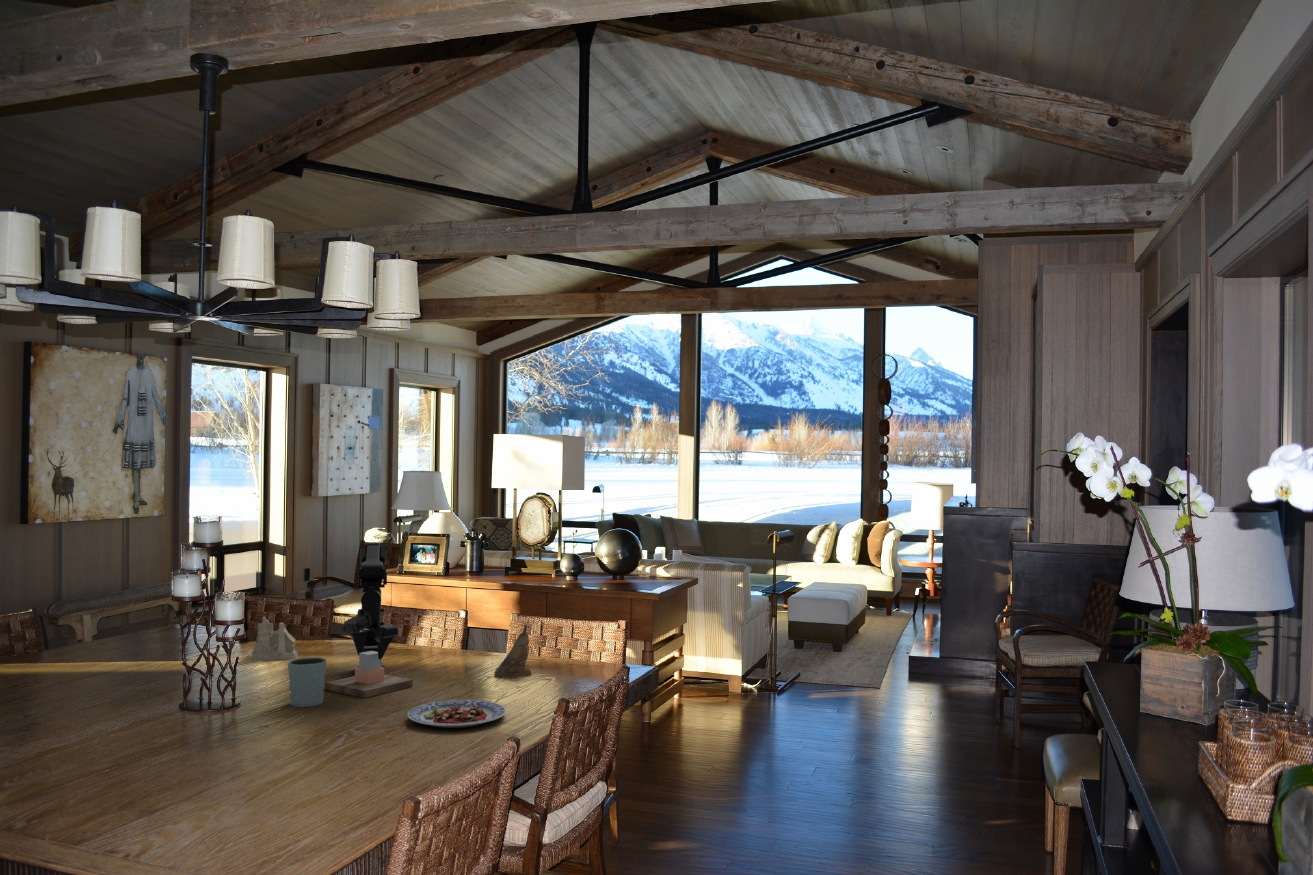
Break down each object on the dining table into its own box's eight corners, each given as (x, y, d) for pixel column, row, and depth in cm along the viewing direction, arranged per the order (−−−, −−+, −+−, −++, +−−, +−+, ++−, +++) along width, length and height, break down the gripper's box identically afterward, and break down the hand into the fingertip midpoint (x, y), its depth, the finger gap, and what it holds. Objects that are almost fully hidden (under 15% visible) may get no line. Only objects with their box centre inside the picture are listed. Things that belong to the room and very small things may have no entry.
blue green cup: (332, 701, 264) (334, 659, 264) (305, 709, 255) (307, 665, 255) (306, 697, 268) (307, 655, 269) (278, 705, 259) (280, 661, 259)
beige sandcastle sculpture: (291, 660, 319) (292, 616, 321) (243, 661, 319) (244, 617, 320) (307, 654, 335) (307, 612, 336) (261, 655, 334) (261, 613, 336)
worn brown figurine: (528, 680, 305) (540, 626, 308) (530, 683, 300) (543, 628, 302) (492, 674, 302) (505, 619, 304) (494, 677, 297) (507, 621, 299)
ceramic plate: (522, 712, 255) (523, 701, 255) (474, 737, 231) (475, 725, 231) (441, 704, 264) (441, 693, 264) (387, 727, 239) (387, 715, 240)
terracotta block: (354, 681, 281) (355, 668, 281) (370, 677, 286) (371, 664, 286) (367, 684, 277) (368, 670, 277) (383, 680, 282) (384, 667, 282)
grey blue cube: (358, 667, 281) (359, 653, 281) (370, 665, 285) (371, 650, 285) (368, 669, 278) (369, 654, 279) (380, 667, 282) (381, 652, 282)
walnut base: (325, 689, 279) (325, 682, 279) (372, 678, 294) (373, 672, 294) (365, 697, 269) (365, 690, 269) (412, 686, 284) (412, 679, 284)
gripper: (329, 605, 281) (327, 657, 280) (370, 611, 270) (369, 665, 270) (359, 601, 290) (357, 652, 289) (400, 607, 280) (399, 659, 279)
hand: (370, 657), depth 282 cm, fingers open, 9 cm apart
